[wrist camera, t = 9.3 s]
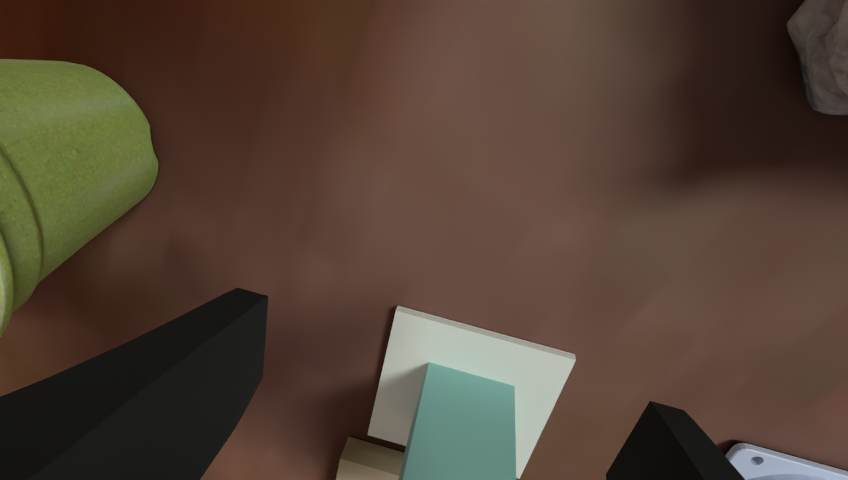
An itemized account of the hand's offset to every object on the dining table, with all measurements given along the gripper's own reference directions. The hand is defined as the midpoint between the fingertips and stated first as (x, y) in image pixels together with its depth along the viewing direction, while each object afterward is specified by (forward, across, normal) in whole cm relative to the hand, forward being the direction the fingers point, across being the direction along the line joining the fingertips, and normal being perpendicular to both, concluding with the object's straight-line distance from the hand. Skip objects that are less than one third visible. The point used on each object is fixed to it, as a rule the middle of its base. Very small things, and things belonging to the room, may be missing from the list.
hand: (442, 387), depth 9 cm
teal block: (+10, -2, +10) cm, 14 cm away
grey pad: (+10, -2, +10) cm, 15 cm away
